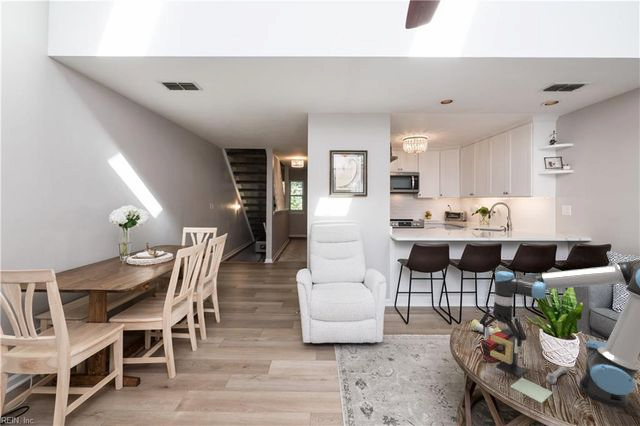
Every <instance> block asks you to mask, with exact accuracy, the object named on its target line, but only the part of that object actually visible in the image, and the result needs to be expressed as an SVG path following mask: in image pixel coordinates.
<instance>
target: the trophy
mask: <svg viewBox="0 0 640 426" xmlns="http://www.w3.org/2000/svg"><path fill="white" fill-rule="evenodd" d="M479 322H480V321H478V319H472V320H471V323H470V329H471V330H472V331H473V332H475V331H476V332H477V331H479V332H481V333H484V332H483V325H482V324H480V323H479ZM502 330H503V329H500V328H499V327H498V326H497V327H495V328H492V327H490V326H489V336H491V335H492V334H494V333H496V332H500V331H502ZM521 350H522V351H525V349H524V348H523V346H522V345H521V346H520V347H519V352H518V353H522V351H521Z"/></svg>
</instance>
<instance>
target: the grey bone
mask: <svg viewBox="0 0 640 426" xmlns="http://www.w3.org/2000/svg"><path fill="white" fill-rule="evenodd" d="M567 373H568V369H567V368H566V367H565V366H564V365H563V366H559V367H558V369H556V370H555V371H553V373H552V372H548V373H547V375H546V376H545V380H546V382H547V383H548V384H550V385H555V384H556V383H557V381H558V377H560V376H561V375H563V374H567Z"/></svg>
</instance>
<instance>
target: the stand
mask: <svg viewBox="0 0 640 426" xmlns="http://www.w3.org/2000/svg"><path fill="white" fill-rule="evenodd" d="M515 339H516V337H514V336H513V337H511V339H509V340H508V341H510V342H513V363H512V364H508V363H506V362H504V361H501V362H499V363H498V364H496V365H495V367H496V368H497V369H499V370H501V371H503V372H504V373H506V374H509V375H510V376H513V377H515V378H517V379H520V378H522V376H523V375H525V374H527V372H528V371H527V369H525V368H523V367H521V366H519V365H518V359H519V357H518V355H519V352H518V353H514V350H515ZM504 348H506V346H504V345H502V344H500V345H498V349H501V350H503V349H504Z"/></svg>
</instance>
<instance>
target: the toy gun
mask: <svg viewBox="0 0 640 426" xmlns="http://www.w3.org/2000/svg"><path fill="white" fill-rule="evenodd" d="M501 330H502V331H500V332H496V333H494V334H492V335H495V336H498V337H500V338H503V339H505V340H509V339H511V337H513V336H514V337H515V335H514V334H513V332H512V331H511V329H510V328H509V326H507V328H506V329H501ZM492 335H489V339H488V340H484V339H482V340H481V341H480V343H481V349H482V358H483V359H485V360H487V361H488V362H490V363H491V364H493V363H496V362H497V361H499V359H497V358H495V357H493V356H490V351H492V350H494V351H496V352H498V353H501V354H503V355H505V349H506V348H504V349H503V350H501V349H498V345H500V344H499V343H497V342H495V341H492V340H491V336H492Z"/></svg>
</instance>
